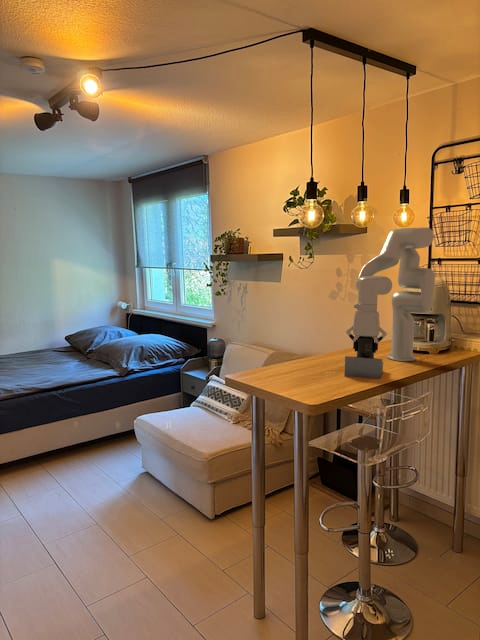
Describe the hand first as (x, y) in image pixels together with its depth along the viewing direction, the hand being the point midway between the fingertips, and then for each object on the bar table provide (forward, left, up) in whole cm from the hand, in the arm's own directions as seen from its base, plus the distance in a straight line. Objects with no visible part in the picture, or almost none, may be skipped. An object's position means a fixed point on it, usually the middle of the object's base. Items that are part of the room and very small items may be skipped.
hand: (365, 351), depth 189 cm
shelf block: (+1, 0, -9) cm, 9 cm away
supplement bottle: (0, 0, -4) cm, 4 cm away
